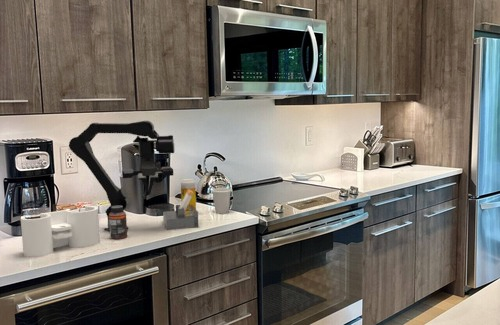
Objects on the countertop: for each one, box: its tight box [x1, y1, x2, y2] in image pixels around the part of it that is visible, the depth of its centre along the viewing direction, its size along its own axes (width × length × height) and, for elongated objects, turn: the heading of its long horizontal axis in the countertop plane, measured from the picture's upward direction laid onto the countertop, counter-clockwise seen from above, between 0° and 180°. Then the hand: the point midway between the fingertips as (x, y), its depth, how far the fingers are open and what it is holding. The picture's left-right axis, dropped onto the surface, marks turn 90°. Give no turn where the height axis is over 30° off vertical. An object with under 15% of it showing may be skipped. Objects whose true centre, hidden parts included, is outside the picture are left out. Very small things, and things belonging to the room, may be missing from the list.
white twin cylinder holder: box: [20, 205, 101, 258], centre depth 164 cm, size 25×10×12 cm, turn 132°
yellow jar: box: [180, 178, 197, 210], centre depth 210 cm, size 6×6×15 cm
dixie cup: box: [211, 187, 232, 215], centre depth 213 cm, size 8×8×10 cm
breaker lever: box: [179, 189, 193, 212], centre depth 193 cm, size 2×5×9 cm, turn 15°
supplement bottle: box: [109, 205, 128, 240], centre depth 176 cm, size 6×6×11 cm
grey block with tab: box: [162, 204, 199, 231], centre depth 193 cm, size 12×14×7 cm
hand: (148, 194), depth 187 cm, fingers closed
